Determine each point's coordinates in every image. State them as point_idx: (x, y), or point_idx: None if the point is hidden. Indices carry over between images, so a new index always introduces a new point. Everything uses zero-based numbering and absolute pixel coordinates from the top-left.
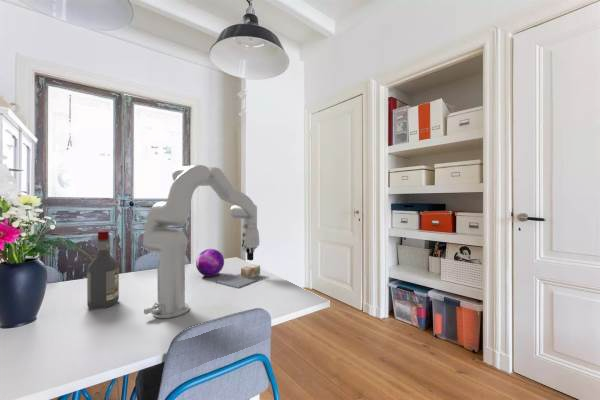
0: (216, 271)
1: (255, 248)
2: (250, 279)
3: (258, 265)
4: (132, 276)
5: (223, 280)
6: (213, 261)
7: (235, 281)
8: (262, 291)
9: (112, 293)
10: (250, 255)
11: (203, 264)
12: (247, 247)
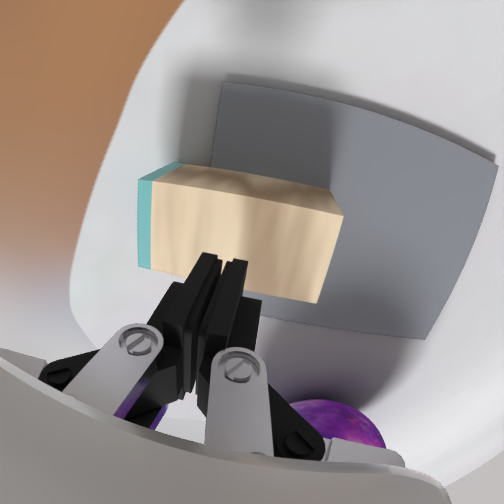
0: (341, 407)
1: (40, 361)
2: (336, 159)
3: (143, 198)
4: None
5: (402, 320)
6: None
7: (411, 242)
8: (479, 5)
9: None
10: (233, 321)
11: None
12: (441, 487)
